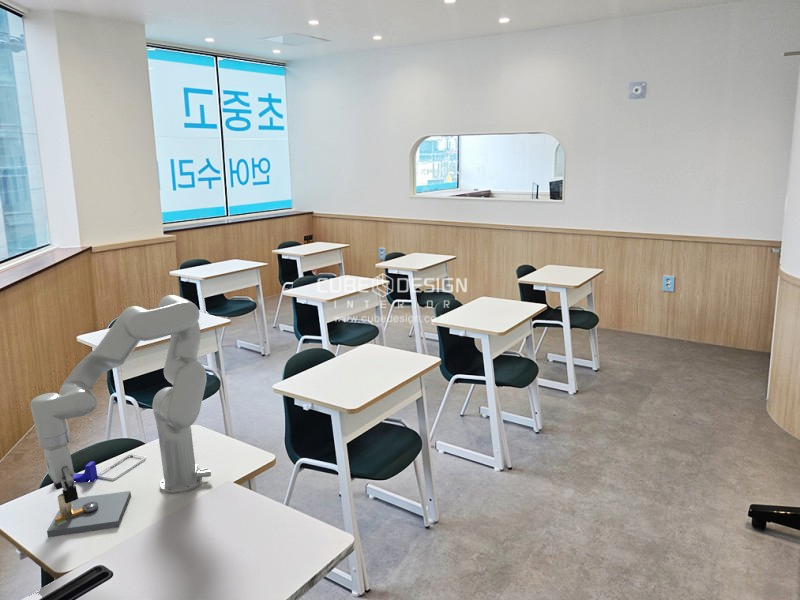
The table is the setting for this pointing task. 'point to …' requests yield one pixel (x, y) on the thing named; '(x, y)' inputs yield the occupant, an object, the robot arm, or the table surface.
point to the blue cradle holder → (87, 473)
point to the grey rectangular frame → (123, 471)
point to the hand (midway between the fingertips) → (67, 494)
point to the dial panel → (93, 515)
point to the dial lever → (68, 511)
